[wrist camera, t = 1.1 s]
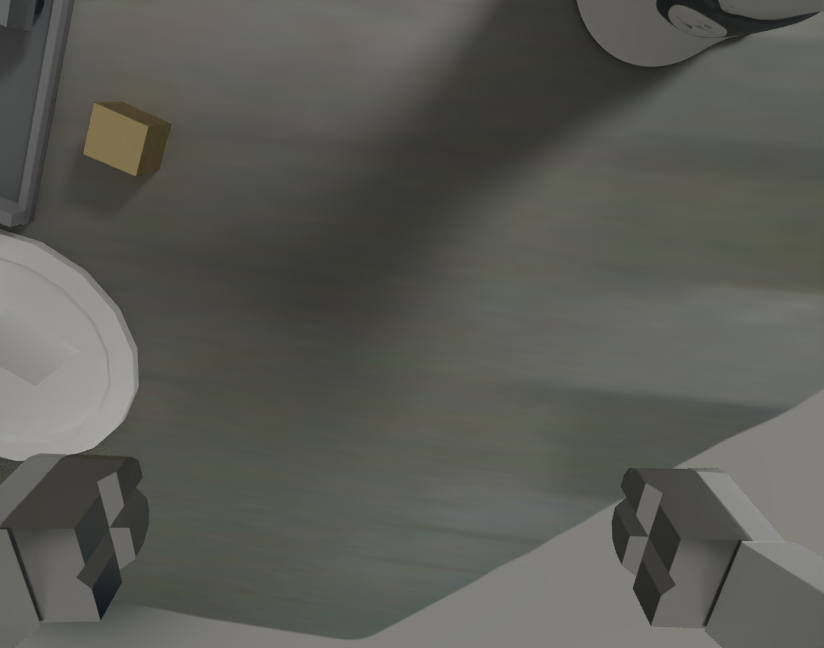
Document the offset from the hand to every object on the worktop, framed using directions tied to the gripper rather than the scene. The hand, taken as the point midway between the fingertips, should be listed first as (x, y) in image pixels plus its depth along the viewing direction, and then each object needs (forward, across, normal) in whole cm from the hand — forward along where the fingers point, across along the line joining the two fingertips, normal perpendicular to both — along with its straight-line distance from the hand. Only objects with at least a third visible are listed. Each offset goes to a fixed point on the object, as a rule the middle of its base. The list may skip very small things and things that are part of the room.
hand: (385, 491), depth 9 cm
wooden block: (+40, +21, -1) cm, 46 cm away
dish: (+40, +37, +19) cm, 58 cm away
